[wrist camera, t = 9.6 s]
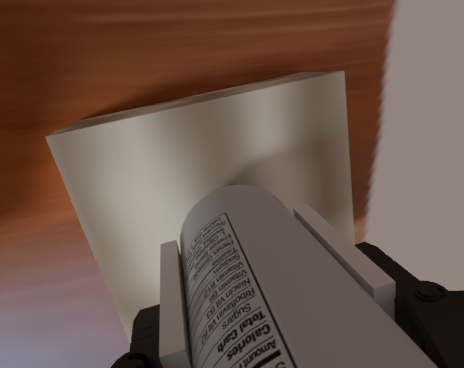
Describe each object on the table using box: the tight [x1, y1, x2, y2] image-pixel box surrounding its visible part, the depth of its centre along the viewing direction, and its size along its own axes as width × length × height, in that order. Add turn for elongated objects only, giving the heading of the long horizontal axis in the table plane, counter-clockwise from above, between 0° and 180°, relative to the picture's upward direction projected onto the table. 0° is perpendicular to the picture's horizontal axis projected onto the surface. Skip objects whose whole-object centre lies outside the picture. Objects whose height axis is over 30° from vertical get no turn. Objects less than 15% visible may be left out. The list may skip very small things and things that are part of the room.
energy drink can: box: [180, 185, 438, 368], centre depth 11 cm, size 6×6×15 cm
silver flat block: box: [45, 71, 355, 344], centre depth 22 cm, size 16×14×6 cm
